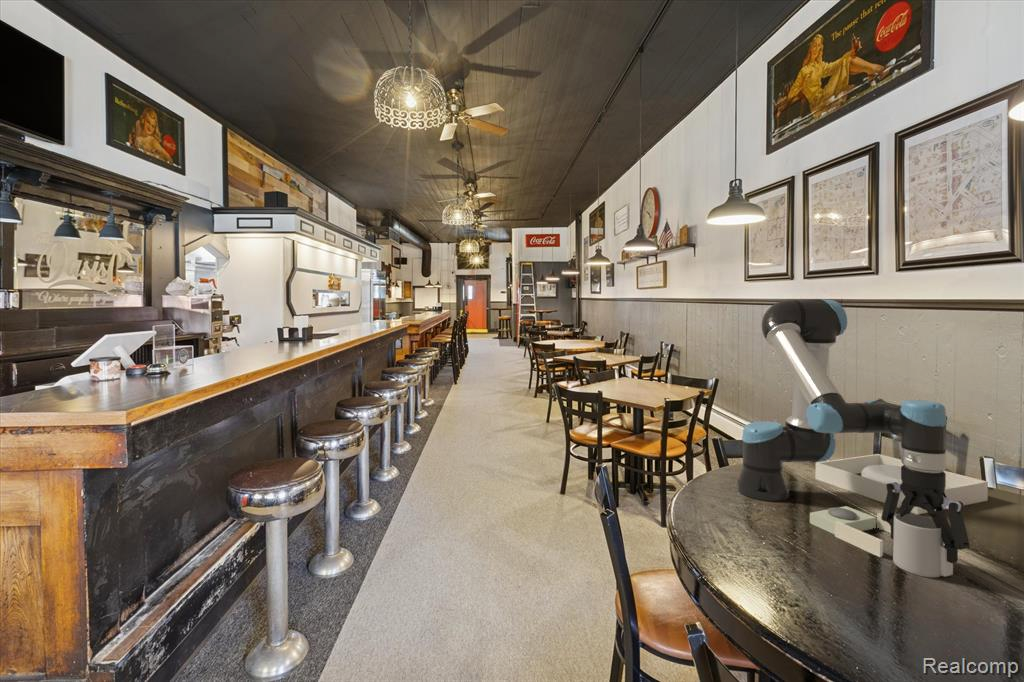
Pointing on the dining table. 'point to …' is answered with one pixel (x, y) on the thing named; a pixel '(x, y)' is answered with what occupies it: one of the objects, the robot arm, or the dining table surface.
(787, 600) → the dining table surface
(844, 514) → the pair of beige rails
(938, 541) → the mug
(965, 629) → the dining table surface
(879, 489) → the shallow rectangular tray
